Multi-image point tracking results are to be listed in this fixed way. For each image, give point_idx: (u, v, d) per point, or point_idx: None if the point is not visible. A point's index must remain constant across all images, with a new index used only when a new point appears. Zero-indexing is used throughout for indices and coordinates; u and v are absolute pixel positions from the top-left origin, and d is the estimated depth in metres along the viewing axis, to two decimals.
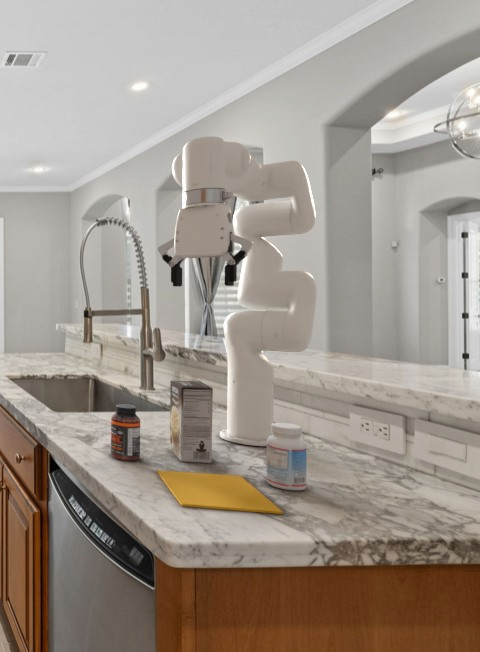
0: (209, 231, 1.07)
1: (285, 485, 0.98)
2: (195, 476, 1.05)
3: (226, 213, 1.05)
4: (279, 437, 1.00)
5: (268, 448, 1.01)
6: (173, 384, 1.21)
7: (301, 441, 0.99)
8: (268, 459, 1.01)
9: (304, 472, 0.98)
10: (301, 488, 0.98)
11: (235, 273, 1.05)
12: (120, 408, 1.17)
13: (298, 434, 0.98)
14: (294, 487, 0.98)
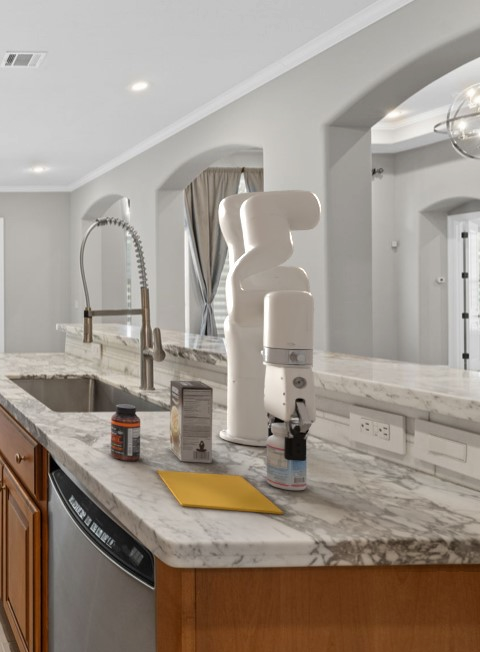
0: (278, 394, 0.99)
1: (285, 485, 0.98)
2: (195, 476, 1.05)
3: (291, 377, 0.96)
4: (279, 437, 1.00)
5: (268, 448, 1.01)
6: (173, 384, 1.21)
7: None
8: (268, 459, 1.01)
9: (304, 472, 0.98)
10: (301, 488, 0.98)
11: (298, 448, 0.96)
12: (120, 408, 1.17)
13: None
14: (294, 487, 0.98)
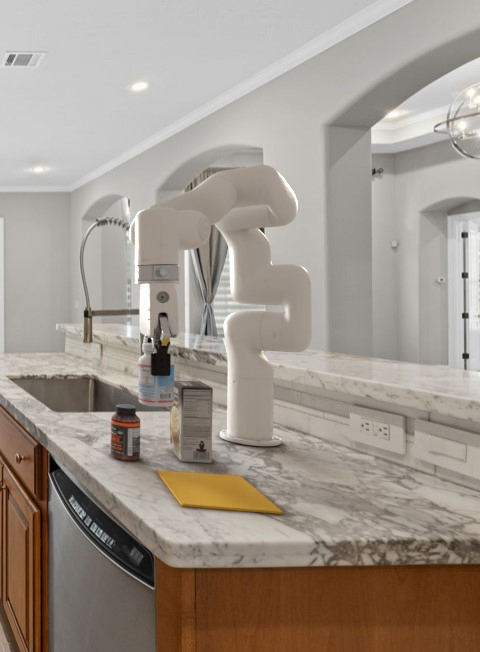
0: (146, 311, 0.99)
1: (152, 402, 0.98)
2: (195, 476, 1.05)
3: (155, 292, 0.96)
4: (148, 354, 1.00)
5: (138, 367, 1.01)
6: None
7: None
8: (139, 378, 1.01)
9: (170, 388, 0.98)
10: (167, 404, 0.98)
11: (162, 363, 0.96)
12: (120, 408, 1.17)
13: None
14: (160, 403, 0.98)
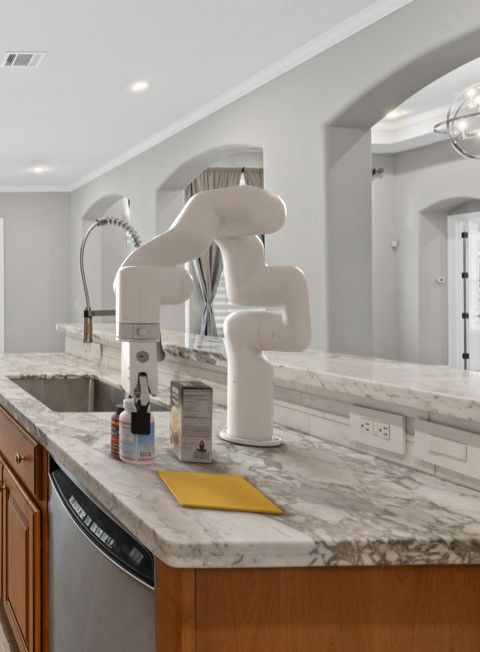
0: (126, 369, 0.99)
1: (132, 459, 0.99)
2: (195, 476, 1.05)
3: (135, 352, 0.97)
4: (128, 411, 1.00)
5: (119, 423, 1.01)
6: (173, 384, 1.21)
7: None
8: (119, 434, 1.01)
9: (150, 446, 0.98)
10: (147, 462, 0.98)
11: (142, 422, 0.97)
12: (120, 408, 1.17)
13: None
14: (140, 461, 0.98)
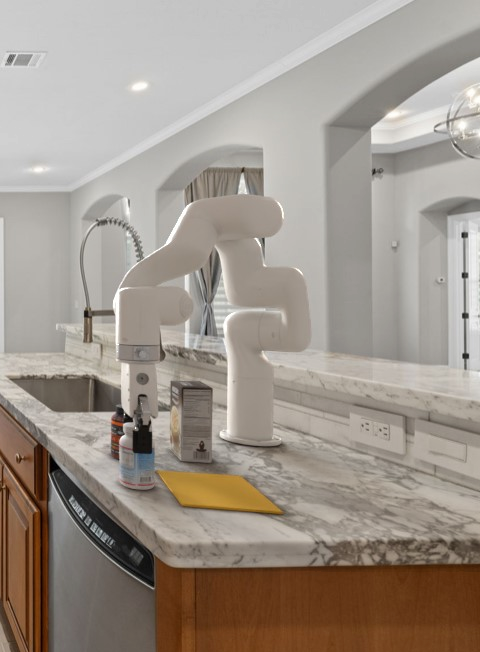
0: (126, 390, 0.99)
1: (132, 484, 0.99)
2: (195, 476, 1.05)
3: (135, 374, 0.97)
4: (128, 436, 1.00)
5: (119, 447, 1.02)
6: (173, 384, 1.21)
7: None
8: (119, 458, 1.02)
9: (150, 471, 0.98)
10: (147, 487, 0.98)
11: (144, 441, 0.95)
12: (120, 408, 1.17)
13: None
14: (140, 486, 0.98)
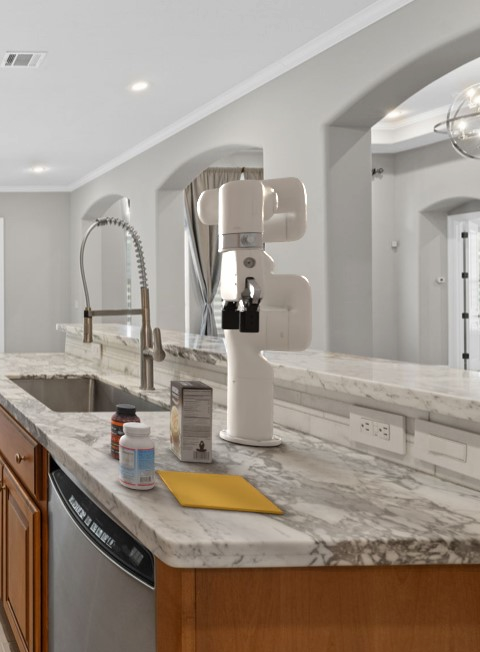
0: (231, 277, 1.06)
1: (132, 484, 0.99)
2: (195, 476, 1.05)
3: (242, 258, 1.03)
4: (128, 436, 1.00)
5: (119, 447, 1.02)
6: (173, 384, 1.21)
7: (148, 440, 0.99)
8: (119, 458, 1.02)
9: (150, 471, 0.98)
10: (147, 487, 0.98)
11: (252, 320, 1.02)
12: (120, 408, 1.17)
13: (145, 434, 0.99)
14: (140, 486, 0.98)
